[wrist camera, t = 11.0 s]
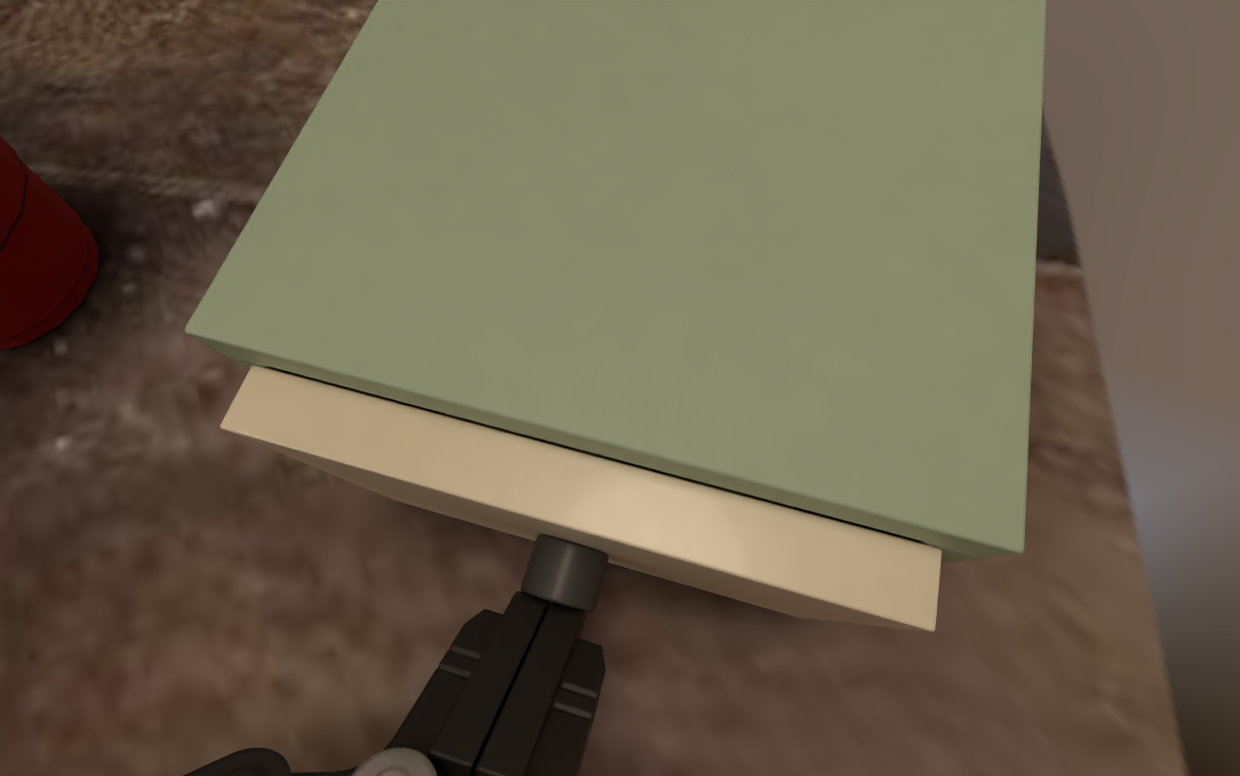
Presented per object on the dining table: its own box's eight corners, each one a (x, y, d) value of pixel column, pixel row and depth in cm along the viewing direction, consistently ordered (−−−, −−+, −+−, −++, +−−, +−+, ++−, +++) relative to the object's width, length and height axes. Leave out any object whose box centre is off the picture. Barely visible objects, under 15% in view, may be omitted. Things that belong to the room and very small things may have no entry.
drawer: (791, 666, 15) (928, 726, 8) (377, 542, 16) (179, 497, 9) (866, 202, 20) (992, -18, 13) (543, 137, 21) (495, -93, 14)
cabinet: (819, 579, 16) (1026, 555, 8) (404, 462, 18) (180, 331, 9) (882, 169, 21) (1053, -134, 12) (551, 105, 23) (496, -203, 14)
